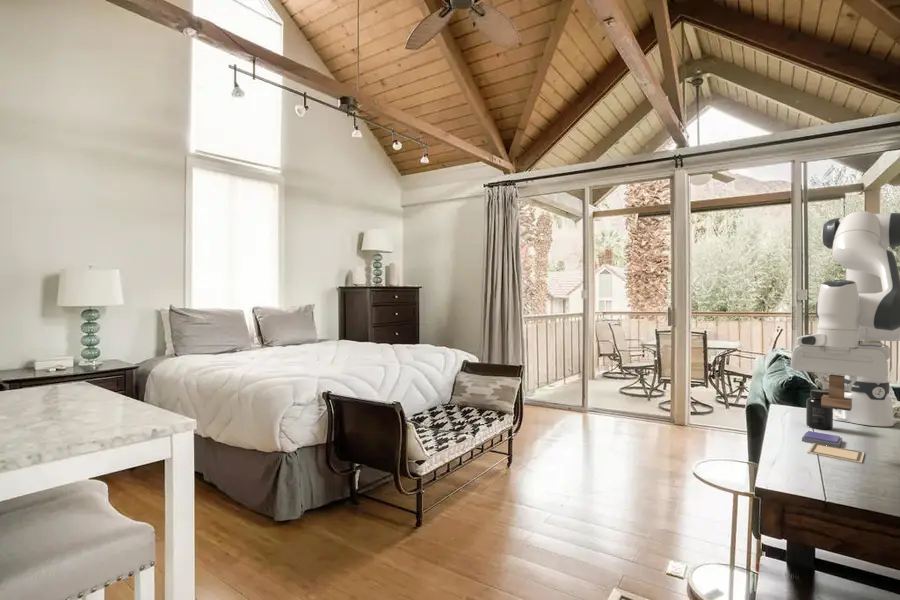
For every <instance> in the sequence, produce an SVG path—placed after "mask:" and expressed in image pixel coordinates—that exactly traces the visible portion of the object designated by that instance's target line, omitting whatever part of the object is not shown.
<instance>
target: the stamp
mask: <svg viewBox="0 0 900 600" xmlns="http://www.w3.org/2000/svg"><path fill="white" fill-rule="evenodd" d="M828 375H829V376H828V377H829V378H828V383H829V390H828V392H829V395H823V396H822V397H821V407H825V408H832V409H839V410H847V411H851V409H852V398H845V397H844V385H845V375H838V374H828Z"/></svg>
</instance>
